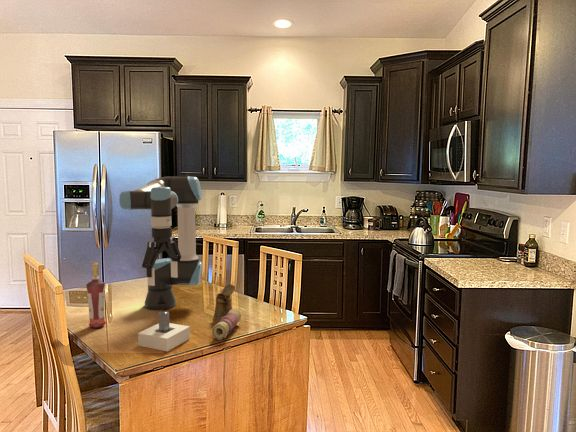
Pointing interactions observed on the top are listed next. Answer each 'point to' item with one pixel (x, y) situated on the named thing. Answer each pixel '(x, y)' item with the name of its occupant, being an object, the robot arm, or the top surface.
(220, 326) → the scroll
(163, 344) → the socket
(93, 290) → the liquor
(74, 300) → the top surface
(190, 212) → the robot arm
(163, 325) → the peg
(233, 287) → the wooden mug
